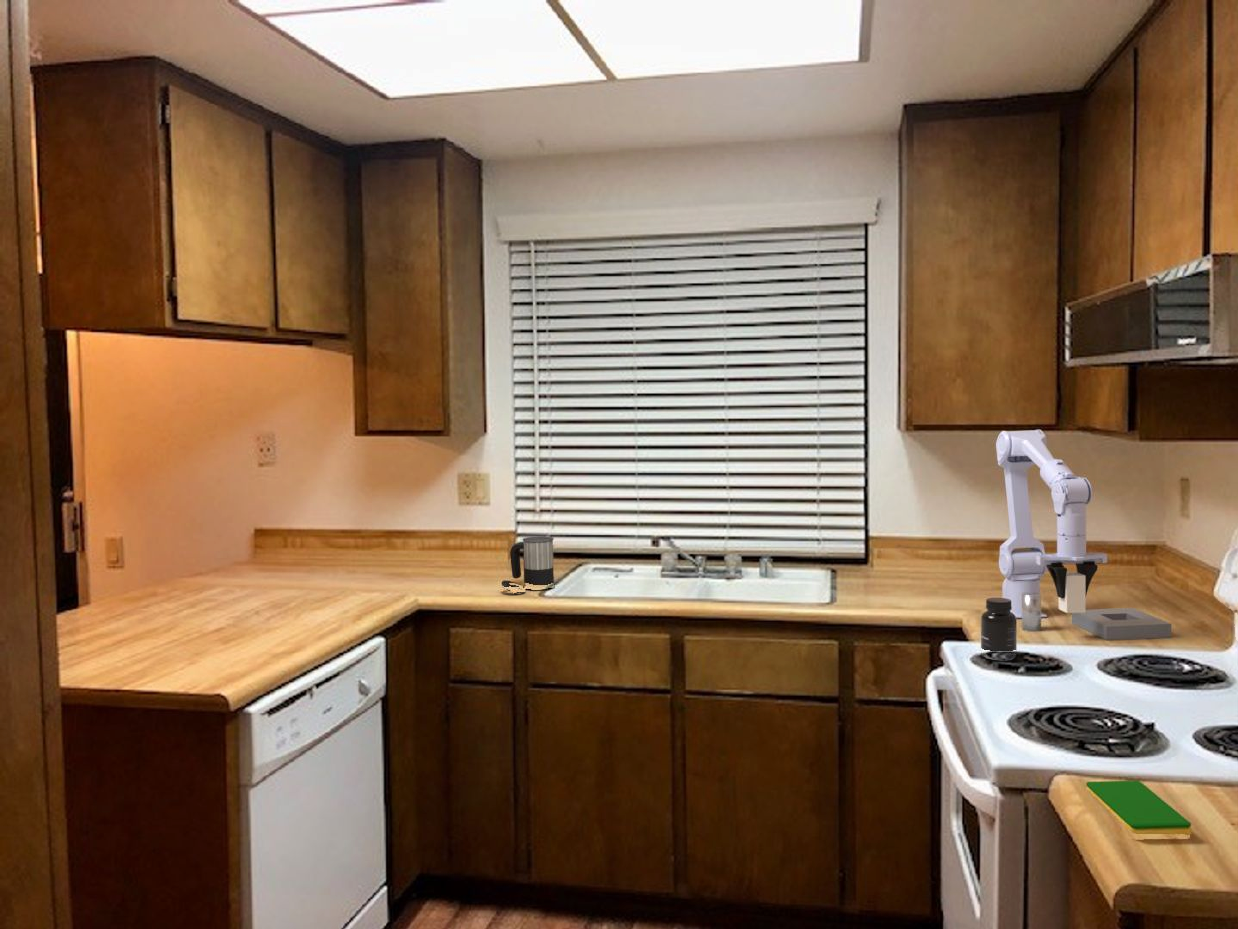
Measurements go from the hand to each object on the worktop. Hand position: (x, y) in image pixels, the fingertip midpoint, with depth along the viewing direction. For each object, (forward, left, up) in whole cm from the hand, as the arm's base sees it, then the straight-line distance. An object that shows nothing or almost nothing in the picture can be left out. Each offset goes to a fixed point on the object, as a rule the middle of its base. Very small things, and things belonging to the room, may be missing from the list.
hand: (1071, 596), depth 220 cm
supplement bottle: (+13, -21, -9) cm, 26 cm away
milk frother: (-78, -123, -9) cm, 146 cm away
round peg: (-9, -5, -9) cm, 14 cm away
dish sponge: (+89, -33, -10) cm, 95 cm away
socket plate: (-5, +13, -9) cm, 17 cm away
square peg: (0, 0, -3) cm, 3 cm away
